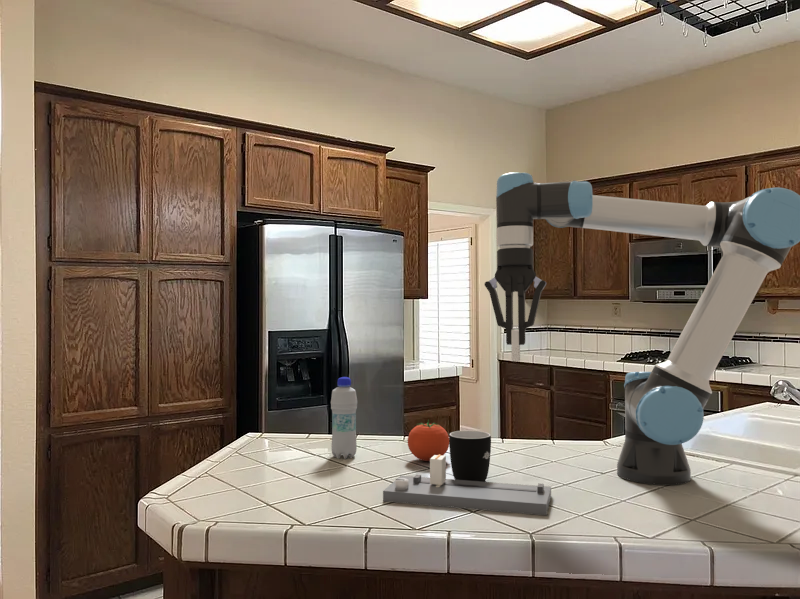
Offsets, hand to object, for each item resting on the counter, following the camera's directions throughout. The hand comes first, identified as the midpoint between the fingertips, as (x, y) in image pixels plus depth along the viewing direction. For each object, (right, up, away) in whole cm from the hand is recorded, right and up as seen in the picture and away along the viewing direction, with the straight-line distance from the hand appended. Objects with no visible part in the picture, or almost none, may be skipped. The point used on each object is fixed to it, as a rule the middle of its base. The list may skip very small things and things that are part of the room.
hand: (515, 360), depth 139 cm
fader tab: (-17, -24, -5) cm, 30 cm away
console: (-11, -26, -9) cm, 30 cm away
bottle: (-38, -27, +27) cm, 54 cm away
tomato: (-17, -27, +23) cm, 39 cm away
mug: (-9, -27, +5) cm, 29 cm away
